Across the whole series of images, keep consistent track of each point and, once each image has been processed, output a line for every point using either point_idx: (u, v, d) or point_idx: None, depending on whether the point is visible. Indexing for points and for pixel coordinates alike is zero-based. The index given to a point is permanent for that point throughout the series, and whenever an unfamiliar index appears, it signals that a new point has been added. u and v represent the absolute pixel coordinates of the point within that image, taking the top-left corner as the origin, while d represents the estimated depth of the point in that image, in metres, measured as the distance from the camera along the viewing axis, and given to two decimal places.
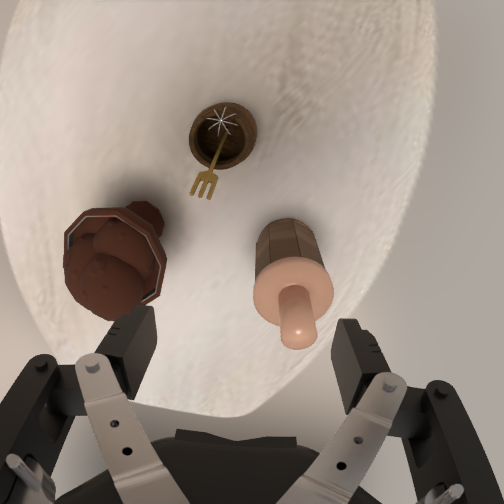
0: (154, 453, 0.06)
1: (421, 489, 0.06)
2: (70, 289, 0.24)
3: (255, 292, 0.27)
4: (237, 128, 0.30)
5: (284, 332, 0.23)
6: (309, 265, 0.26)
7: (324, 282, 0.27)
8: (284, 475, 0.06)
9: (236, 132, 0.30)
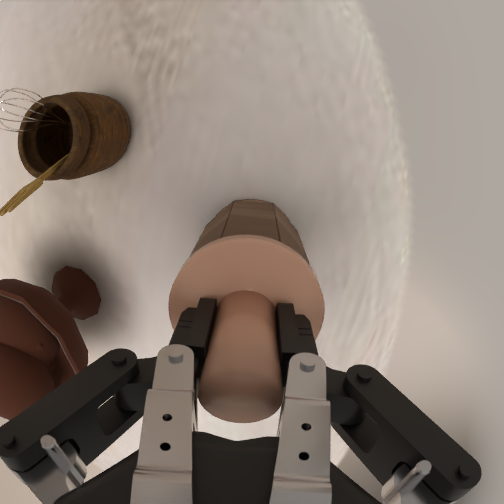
0: (189, 457, 0.06)
1: (379, 471, 0.07)
2: None
3: None
4: None
5: (202, 397, 0.10)
6: (232, 246, 0.13)
7: (281, 264, 0.13)
8: None
9: None
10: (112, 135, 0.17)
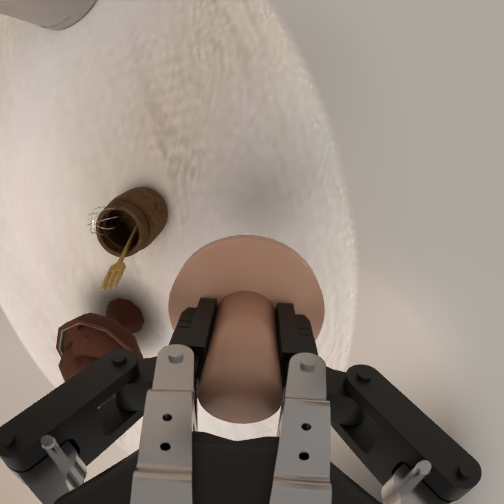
0: (189, 457, 0.06)
1: (379, 471, 0.07)
2: None
3: None
4: None
5: (202, 398, 0.09)
6: (232, 246, 0.13)
7: (281, 264, 0.13)
8: None
9: None
10: (159, 224, 0.30)
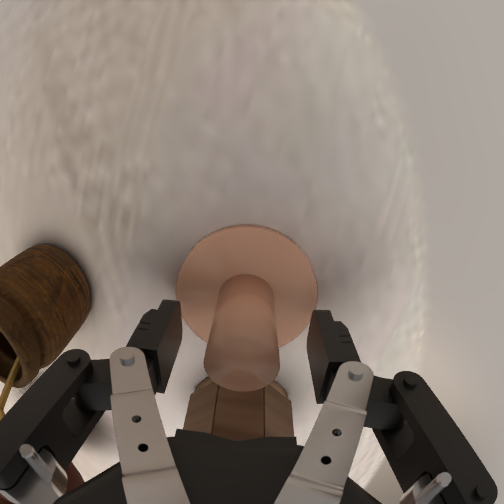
0: (169, 453, 0.06)
1: (404, 480, 0.07)
2: None
3: (184, 314, 0.16)
4: None
5: (207, 366, 0.11)
6: (234, 233, 0.14)
7: (278, 250, 0.15)
8: (284, 475, 0.06)
9: None
10: (66, 326, 0.14)
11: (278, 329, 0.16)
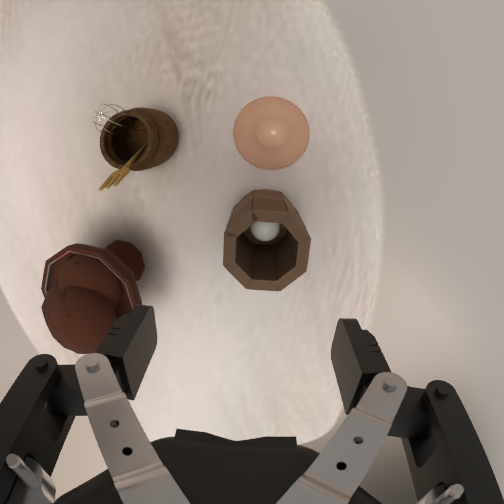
0: (154, 453, 0.06)
1: (421, 489, 0.06)
2: (53, 336, 0.23)
3: (237, 143, 0.29)
4: None
5: (257, 132, 0.24)
6: (266, 98, 0.27)
7: (288, 107, 0.27)
8: (284, 475, 0.06)
9: None
10: (169, 141, 0.26)
11: (289, 152, 0.29)
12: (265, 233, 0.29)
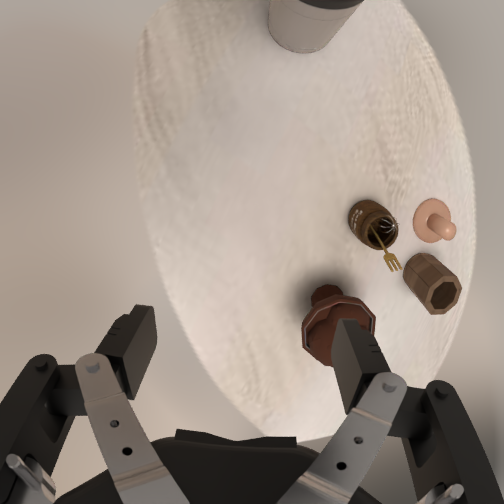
0: (154, 453, 0.06)
1: (421, 489, 0.06)
2: (326, 359, 0.39)
3: (416, 227, 0.44)
4: None
5: (442, 231, 0.39)
6: (434, 200, 0.43)
7: (443, 206, 0.43)
8: (284, 475, 0.06)
9: None
10: None
11: None
12: None
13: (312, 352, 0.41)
